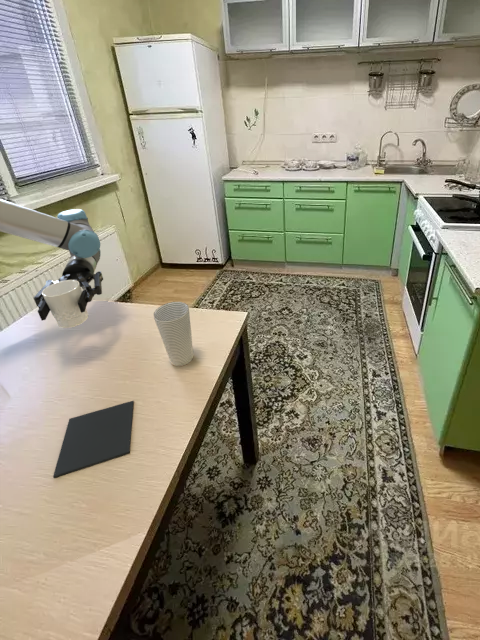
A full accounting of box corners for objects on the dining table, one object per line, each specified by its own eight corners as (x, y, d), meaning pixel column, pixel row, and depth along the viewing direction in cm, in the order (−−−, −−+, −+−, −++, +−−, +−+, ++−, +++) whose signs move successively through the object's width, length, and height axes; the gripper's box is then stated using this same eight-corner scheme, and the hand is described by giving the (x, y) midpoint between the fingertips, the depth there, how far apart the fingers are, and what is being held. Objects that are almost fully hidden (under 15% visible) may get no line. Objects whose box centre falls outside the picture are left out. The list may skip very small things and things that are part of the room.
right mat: (53, 478, 60) (52, 476, 60) (69, 420, 71) (69, 418, 71) (129, 453, 64) (129, 451, 64) (133, 401, 75) (133, 400, 75)
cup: (175, 345, 92) (165, 300, 85) (203, 349, 90) (194, 302, 83) (159, 367, 84) (146, 319, 78) (189, 372, 83) (178, 323, 76)
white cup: (82, 308, 89) (70, 276, 85) (96, 317, 85) (85, 285, 81) (50, 323, 84) (36, 290, 79) (64, 334, 79) (50, 299, 75)
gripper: (120, 274, 102) (112, 314, 82) (44, 288, 96) (17, 334, 76) (114, 253, 99) (104, 289, 79) (35, 265, 92) (4, 308, 73)
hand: (61, 311), depth 78 cm, fingers closed on white cup, 8 cm apart
